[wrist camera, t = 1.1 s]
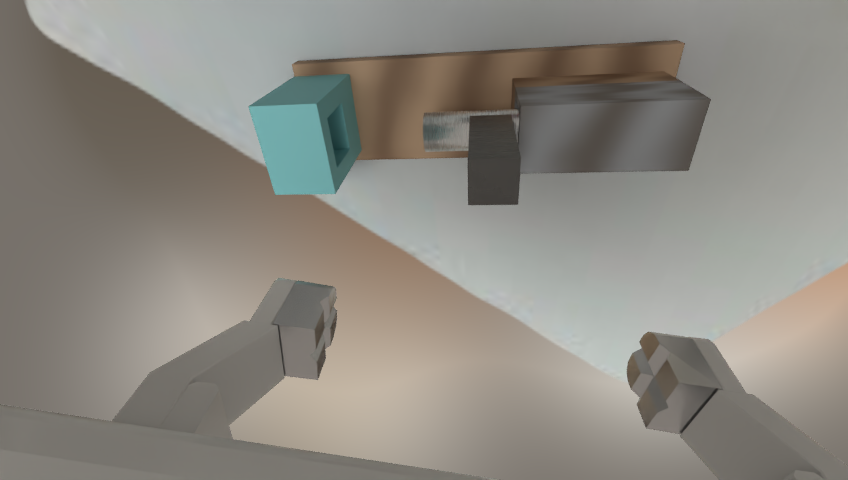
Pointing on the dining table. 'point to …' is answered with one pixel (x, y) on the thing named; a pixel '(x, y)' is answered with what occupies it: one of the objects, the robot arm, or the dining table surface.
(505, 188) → the grey l-shaped piece
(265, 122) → the socket block
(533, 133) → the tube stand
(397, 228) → the dining table surface
